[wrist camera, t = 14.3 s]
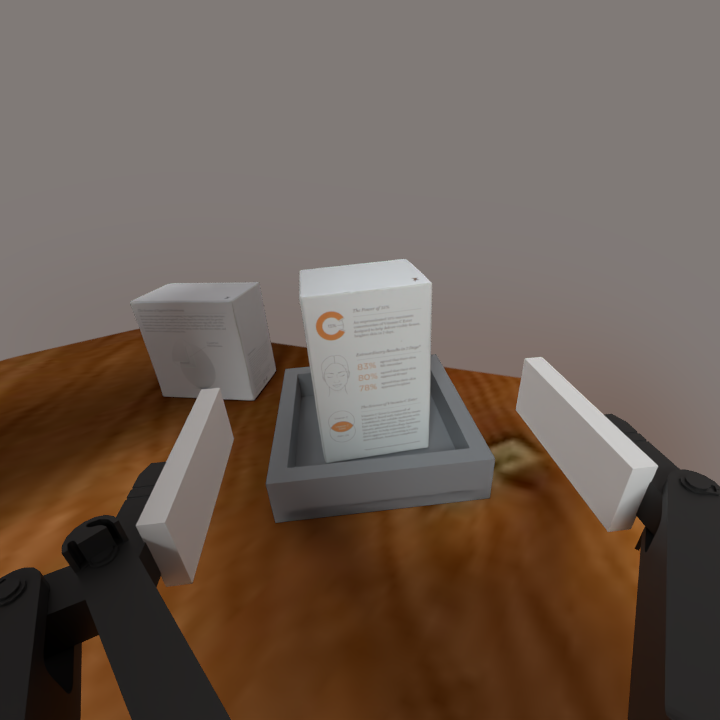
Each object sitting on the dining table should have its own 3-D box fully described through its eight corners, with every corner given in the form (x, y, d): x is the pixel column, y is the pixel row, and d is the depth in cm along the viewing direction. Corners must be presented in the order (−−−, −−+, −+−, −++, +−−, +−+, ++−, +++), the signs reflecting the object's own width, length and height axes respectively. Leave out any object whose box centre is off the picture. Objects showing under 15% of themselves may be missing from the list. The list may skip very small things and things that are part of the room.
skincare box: (278, 369, 44) (261, 279, 39) (254, 402, 38) (231, 301, 33) (194, 366, 46) (168, 280, 41) (161, 397, 40) (125, 301, 35)
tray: (275, 522, 25) (265, 484, 24) (291, 399, 38) (285, 369, 36) (489, 498, 26) (495, 458, 24) (435, 385, 39) (436, 354, 37)
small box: (408, 402, 35) (408, 256, 28) (430, 449, 29) (435, 281, 23) (318, 415, 34) (297, 268, 28) (323, 466, 28) (298, 296, 22)
